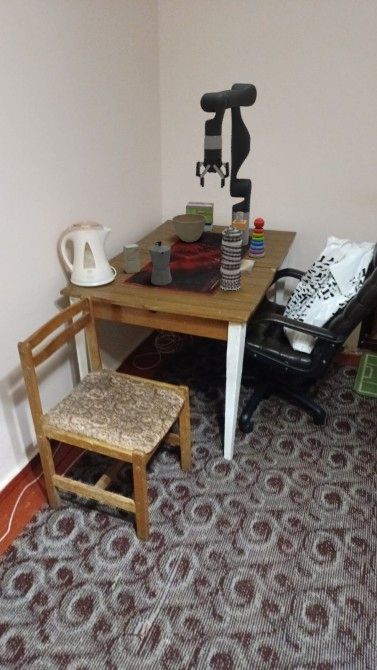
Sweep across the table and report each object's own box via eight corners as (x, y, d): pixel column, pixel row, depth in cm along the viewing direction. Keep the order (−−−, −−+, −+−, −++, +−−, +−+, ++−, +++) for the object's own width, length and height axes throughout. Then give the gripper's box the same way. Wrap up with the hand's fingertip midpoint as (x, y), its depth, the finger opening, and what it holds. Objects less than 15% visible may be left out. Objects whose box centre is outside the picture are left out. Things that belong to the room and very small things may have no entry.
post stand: (219, 271, 208) (221, 215, 196) (226, 261, 220) (227, 207, 208) (250, 274, 205) (253, 217, 192) (254, 263, 217) (258, 209, 204)
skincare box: (128, 274, 207) (126, 248, 201) (124, 270, 211) (122, 245, 205) (141, 271, 210) (139, 245, 204) (137, 268, 213) (135, 243, 207)
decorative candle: (244, 289, 190) (247, 230, 177) (223, 292, 187) (225, 232, 175) (236, 281, 197) (238, 224, 185) (216, 284, 195) (217, 226, 183)
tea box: (185, 231, 265) (185, 205, 258) (188, 226, 274) (188, 201, 267) (211, 232, 263) (211, 206, 256) (213, 227, 272) (213, 202, 264)
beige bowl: (185, 233, 261) (185, 212, 255) (212, 238, 252) (212, 216, 246) (166, 241, 248) (165, 219, 242) (193, 247, 239) (193, 224, 233)
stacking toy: (264, 258, 222) (266, 220, 213) (247, 258, 224) (249, 220, 214) (265, 253, 229) (267, 216, 220) (249, 252, 230) (251, 215, 221)
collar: (232, 229, 202) (232, 222, 200) (234, 226, 206) (234, 219, 205) (244, 230, 200) (244, 223, 199) (246, 226, 205) (246, 220, 204)
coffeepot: (175, 286, 194) (173, 245, 185) (153, 288, 192) (151, 247, 184) (168, 273, 207) (166, 234, 198) (147, 275, 205) (145, 236, 197)
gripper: (231, 146, 191) (230, 186, 199) (198, 145, 194) (198, 185, 202) (228, 148, 185) (227, 189, 193) (194, 147, 188) (194, 188, 196)
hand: (212, 187), depth 198 cm, fingers open, 8 cm apart
